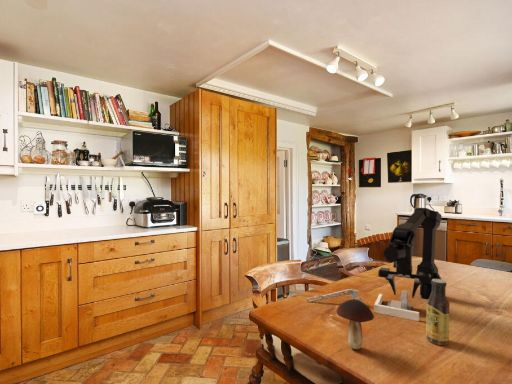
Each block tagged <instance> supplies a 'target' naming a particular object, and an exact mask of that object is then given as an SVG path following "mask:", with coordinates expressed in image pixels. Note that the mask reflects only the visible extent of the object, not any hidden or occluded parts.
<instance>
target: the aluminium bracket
mask: <svg viewBox="0 0 512 384" xmlns="http://www.w3.org/2000/svg"><path fill="white" fill-rule="evenodd" d="M408 291H409V290H405V289H402V290H401V294H400V301H399V300H395V299H391V301H390V302H391V304H390V307H394V308H399V309H405V310H407V307H408V305H409V304H408V300H409V299H408V296H409V295H408V294H409V293H408Z"/></svg>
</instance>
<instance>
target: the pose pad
mask: <svg viewBox="0 0 512 384" xmlns="http://www.w3.org/2000/svg"><path fill="white" fill-rule="evenodd" d="M390 304H391V301H388V302H387V304H386V306H389V307H390ZM407 310H410V311H412V305H409V304H408V307H407Z"/></svg>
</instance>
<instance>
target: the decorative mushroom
mask: <svg viewBox="0 0 512 384" xmlns="http://www.w3.org/2000/svg"><path fill="white" fill-rule="evenodd" d="M356 299H357V298H356ZM356 299H351V300H350V299H349V300H348V299H347V300H345V301H343V302H342V303H340V304H339V305H338V307H337V309H336V315H338V316H339V317H340V318H343V319H345V320H349V322H348V323H349V324H348V328H347V329H348V331H347V344H348V346H349V348H352V349H353V350H360V349H361V348H362V346H363V329H362V324H361V323H366V322H370V321H373V320H374V318H375V316H374V315H375V314H374V313H373V311H372V310H371V308H370V307H369V306H368V305H367V304H366V303H364V302H363V301H359V300H356Z"/></svg>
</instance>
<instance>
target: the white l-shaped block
mask: <svg viewBox="0 0 512 384" xmlns="http://www.w3.org/2000/svg"><path fill="white" fill-rule="evenodd" d="M382 303H383V294H382V293H379V294H378V296H377V298H376V299H375V302H374V305H373V306H374V307H373V312H374V313H376V314H381V315H385V316H391V317H396V318H400V319H405V320H410V321H414V322H420V312H419V311H414V310H411V311H410V310H405V309H399V308H394V307H389V306H387V305H383V304H382Z"/></svg>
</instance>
